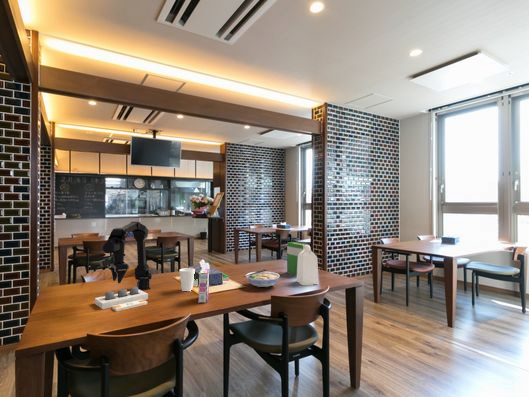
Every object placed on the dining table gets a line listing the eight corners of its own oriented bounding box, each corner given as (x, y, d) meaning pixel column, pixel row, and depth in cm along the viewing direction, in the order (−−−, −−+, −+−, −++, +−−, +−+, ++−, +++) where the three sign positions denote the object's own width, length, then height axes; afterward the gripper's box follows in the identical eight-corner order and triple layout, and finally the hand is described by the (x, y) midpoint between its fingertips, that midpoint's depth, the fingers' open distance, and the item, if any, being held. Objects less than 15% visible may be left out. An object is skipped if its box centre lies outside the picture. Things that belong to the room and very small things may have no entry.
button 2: (136, 292, 176) (136, 286, 176) (139, 294, 173) (139, 288, 173) (128, 294, 173) (128, 288, 173) (131, 296, 170) (131, 289, 170)
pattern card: (142, 301, 168) (142, 298, 168) (147, 304, 164) (147, 301, 164) (111, 308, 157) (112, 305, 157) (116, 311, 153) (116, 308, 153)
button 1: (112, 297, 167) (112, 291, 167) (115, 299, 164) (115, 292, 164) (103, 299, 164) (104, 292, 164) (106, 301, 161) (106, 294, 161)
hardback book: (309, 275, 232) (309, 244, 233) (301, 277, 228) (302, 244, 228) (294, 271, 247) (294, 241, 247) (287, 272, 243) (287, 242, 243)
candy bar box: (207, 303, 167) (207, 273, 167) (198, 303, 166) (198, 273, 166) (209, 296, 178) (209, 268, 178) (200, 297, 177) (200, 268, 178)
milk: (318, 284, 207) (318, 246, 207) (302, 285, 204) (303, 246, 204) (311, 280, 219) (311, 244, 219) (296, 281, 216) (296, 244, 216)
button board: (139, 294, 181) (139, 289, 181) (148, 299, 173) (148, 293, 173) (94, 303, 164) (94, 298, 164) (102, 309, 156) (102, 303, 156)
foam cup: (197, 289, 193) (197, 268, 193) (189, 293, 184) (189, 271, 185) (184, 287, 196) (184, 267, 196) (176, 291, 188) (176, 270, 188)
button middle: (124, 295, 171) (124, 288, 171) (127, 296, 168) (127, 290, 168) (116, 296, 168) (116, 290, 168) (119, 298, 165) (119, 292, 165)
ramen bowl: (264, 294, 184) (265, 280, 184) (237, 287, 198) (237, 274, 198) (287, 285, 204) (287, 273, 204) (260, 279, 218) (260, 268, 218)
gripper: (97, 251, 164) (95, 281, 162) (106, 253, 150) (104, 286, 148) (119, 250, 171) (117, 279, 169) (129, 252, 157) (128, 283, 155)
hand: (116, 281), depth 160 cm, fingers open, 9 cm apart
